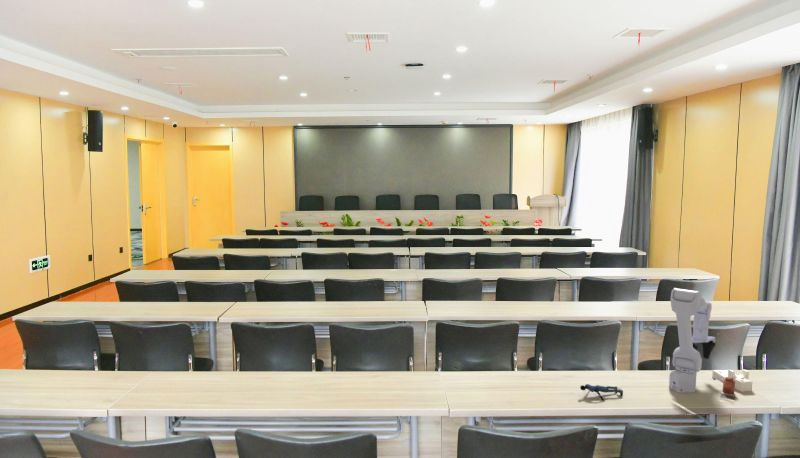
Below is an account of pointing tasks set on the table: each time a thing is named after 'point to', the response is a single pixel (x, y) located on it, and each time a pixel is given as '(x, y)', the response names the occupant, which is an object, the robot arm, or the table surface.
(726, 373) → the bracket
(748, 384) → the die
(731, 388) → the pawn
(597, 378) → the table surface
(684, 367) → the robot arm
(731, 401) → the board
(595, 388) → the person figurine
